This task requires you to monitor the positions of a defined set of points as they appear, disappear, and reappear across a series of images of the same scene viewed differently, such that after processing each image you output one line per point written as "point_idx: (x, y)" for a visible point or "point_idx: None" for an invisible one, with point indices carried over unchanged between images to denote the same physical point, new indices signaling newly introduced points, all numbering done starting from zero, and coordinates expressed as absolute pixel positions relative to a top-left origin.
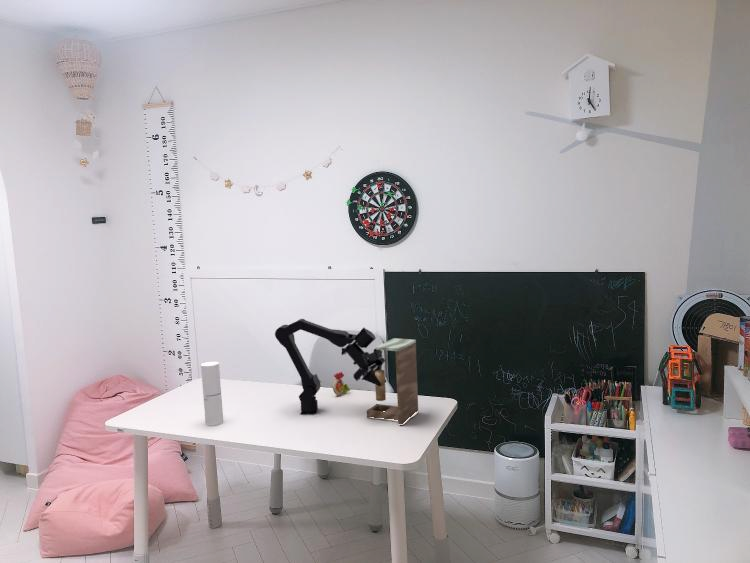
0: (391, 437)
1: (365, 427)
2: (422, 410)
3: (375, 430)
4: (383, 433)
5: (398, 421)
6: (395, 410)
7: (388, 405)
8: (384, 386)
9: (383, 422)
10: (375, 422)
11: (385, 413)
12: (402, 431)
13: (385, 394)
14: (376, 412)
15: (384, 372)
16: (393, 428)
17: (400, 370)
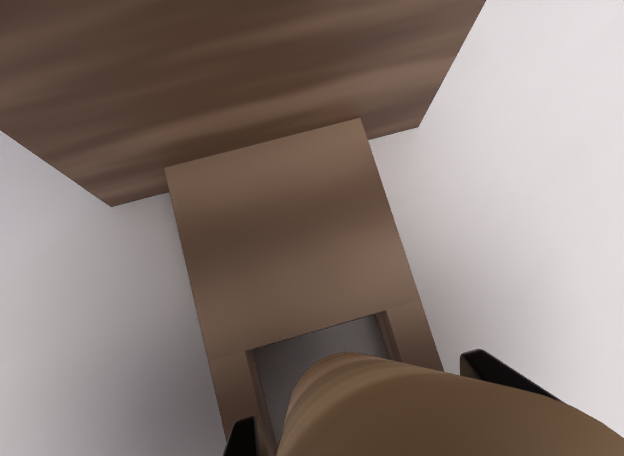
0: (603, 32)
1: (615, 308)
2: (31, 192)
3: (599, 201)
4: (595, 117)
5: (426, 109)
6: (296, 247)
7: (221, 408)
8: (354, 359)
9: (441, 267)
10: (485, 321)
11: (411, 273)
12: (477, 41)
13: (313, 369)
14: (442, 370)
15: (350, 409)
16: (479, 123)
17: None
